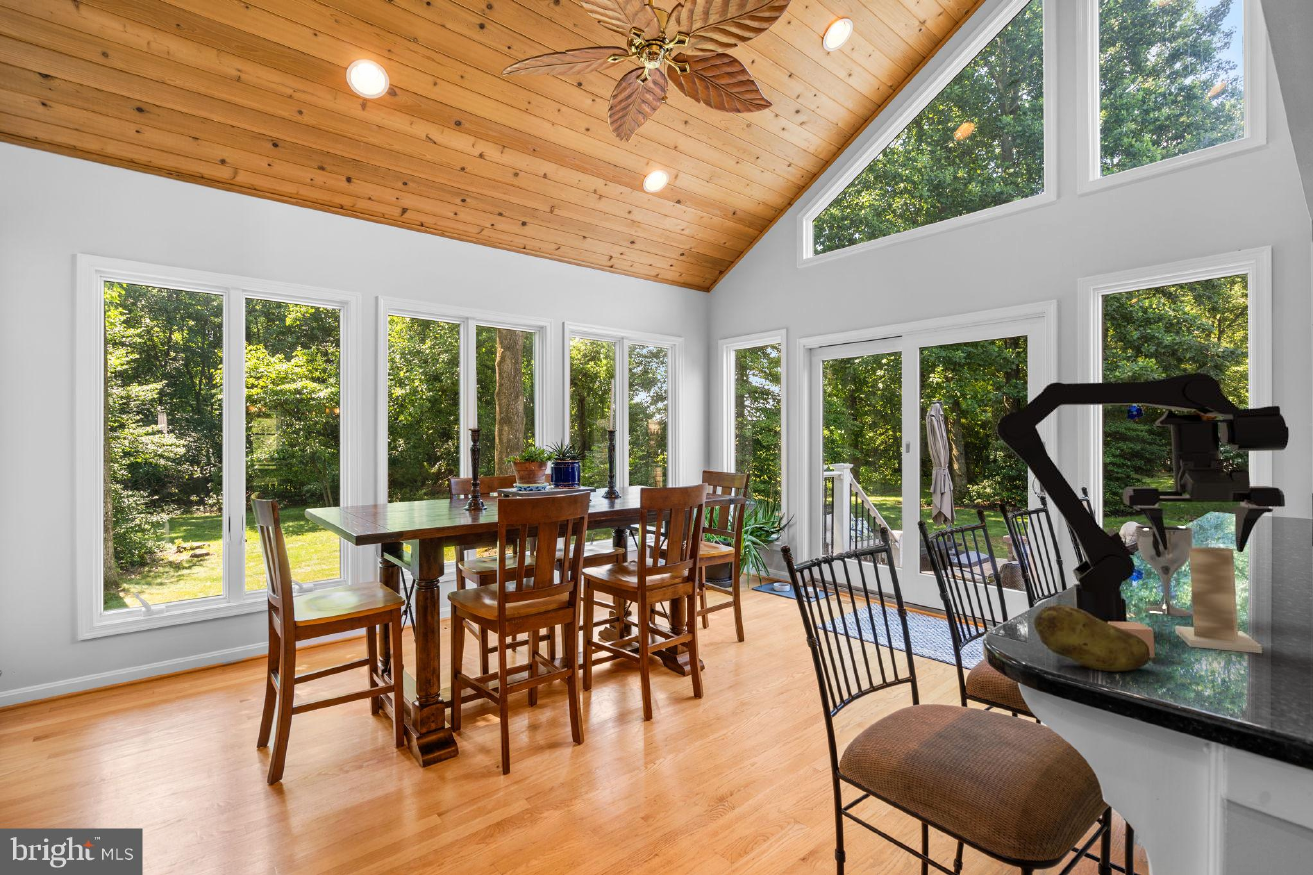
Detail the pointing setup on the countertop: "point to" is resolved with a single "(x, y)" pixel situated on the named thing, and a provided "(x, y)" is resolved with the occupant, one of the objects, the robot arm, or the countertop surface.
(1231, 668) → the countertop surface
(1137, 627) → the terracotta cube
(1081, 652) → the potato
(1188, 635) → the stone tile
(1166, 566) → the wine glass
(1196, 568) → the beech block
